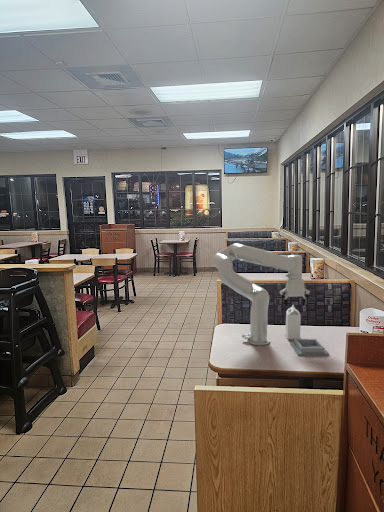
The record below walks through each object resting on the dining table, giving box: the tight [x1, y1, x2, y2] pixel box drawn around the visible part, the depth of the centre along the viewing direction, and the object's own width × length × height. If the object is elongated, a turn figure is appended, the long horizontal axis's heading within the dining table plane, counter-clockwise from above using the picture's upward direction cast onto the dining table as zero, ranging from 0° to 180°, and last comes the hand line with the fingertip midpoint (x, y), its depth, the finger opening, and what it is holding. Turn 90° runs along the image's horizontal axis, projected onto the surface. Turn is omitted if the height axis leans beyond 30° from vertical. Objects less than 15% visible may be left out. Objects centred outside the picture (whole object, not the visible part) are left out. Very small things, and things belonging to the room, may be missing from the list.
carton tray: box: [289, 338, 330, 357], centre depth 192 cm, size 16×15×4 cm
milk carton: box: [285, 304, 302, 341], centre depth 207 cm, size 7×7×19 cm
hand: (294, 305), depth 206 cm, fingers open, 9 cm apart
